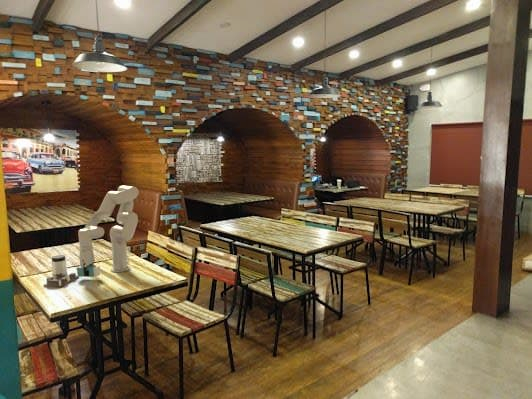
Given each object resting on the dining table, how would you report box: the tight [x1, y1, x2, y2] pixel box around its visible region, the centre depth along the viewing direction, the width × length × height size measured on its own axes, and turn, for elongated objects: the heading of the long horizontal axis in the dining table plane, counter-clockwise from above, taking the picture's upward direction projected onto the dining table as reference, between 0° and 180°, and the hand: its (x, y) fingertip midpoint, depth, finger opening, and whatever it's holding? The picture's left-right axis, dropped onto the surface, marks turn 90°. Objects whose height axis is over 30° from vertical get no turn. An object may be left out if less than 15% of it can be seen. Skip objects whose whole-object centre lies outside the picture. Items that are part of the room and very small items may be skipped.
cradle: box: [43, 272, 80, 288], centre depth 257 cm, size 19×12×4 cm, turn 174°
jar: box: [50, 254, 68, 276], centre depth 273 cm, size 9×8×12 cm
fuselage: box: [76, 264, 101, 278], centre depth 260 cm, size 13×5×6 cm, turn 84°
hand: (89, 274), depth 261 cm, fingers closed on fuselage, 5 cm apart
